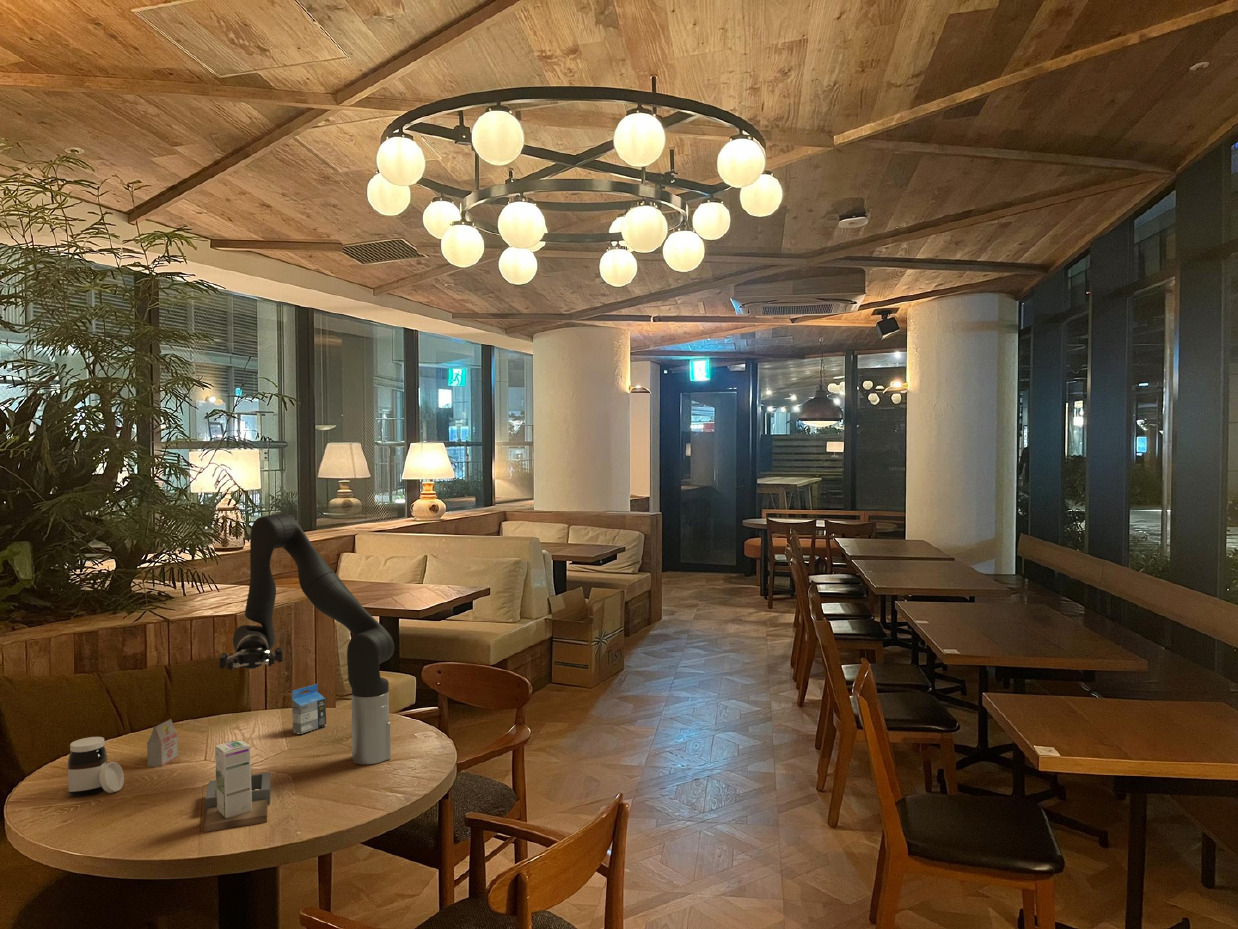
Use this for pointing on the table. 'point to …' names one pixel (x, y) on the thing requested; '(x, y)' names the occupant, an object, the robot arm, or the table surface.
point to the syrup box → (233, 778)
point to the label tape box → (308, 709)
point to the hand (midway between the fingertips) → (250, 664)
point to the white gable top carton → (162, 745)
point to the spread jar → (92, 768)
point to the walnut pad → (236, 817)
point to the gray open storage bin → (257, 782)
